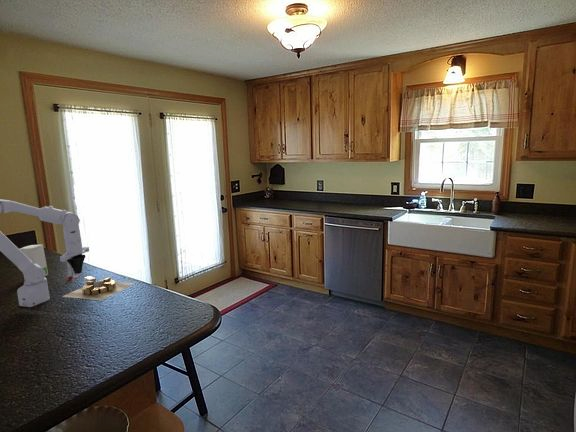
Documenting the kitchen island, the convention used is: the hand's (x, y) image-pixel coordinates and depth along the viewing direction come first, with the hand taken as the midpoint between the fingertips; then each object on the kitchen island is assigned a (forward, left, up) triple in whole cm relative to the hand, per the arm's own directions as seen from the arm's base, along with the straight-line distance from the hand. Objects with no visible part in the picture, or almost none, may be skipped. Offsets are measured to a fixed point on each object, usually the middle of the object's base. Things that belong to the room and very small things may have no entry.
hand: (78, 273), depth 148 cm
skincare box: (+11, +40, -9) cm, 42 cm away
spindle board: (+1, -8, -9) cm, 12 cm away
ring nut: (+1, -6, -7) cm, 10 cm away
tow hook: (+13, +16, -9) cm, 22 cm away
